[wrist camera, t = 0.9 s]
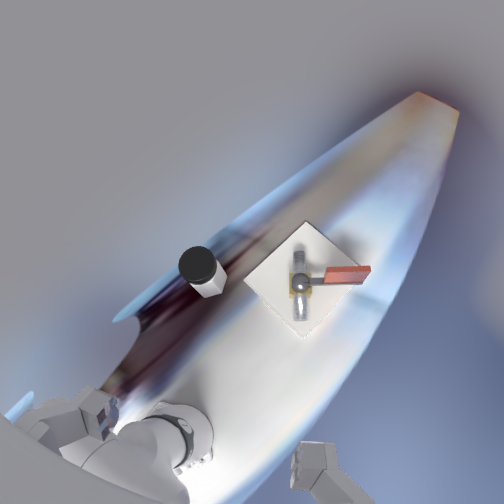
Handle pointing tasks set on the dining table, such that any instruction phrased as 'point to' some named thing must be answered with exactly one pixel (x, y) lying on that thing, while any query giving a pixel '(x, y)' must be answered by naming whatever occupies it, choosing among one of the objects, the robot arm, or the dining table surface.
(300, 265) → the valve body
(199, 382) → the dining table surface
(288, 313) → the mounting plate
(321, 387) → the dining table surface
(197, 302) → the dining table surface
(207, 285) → the jar
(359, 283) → the lever
